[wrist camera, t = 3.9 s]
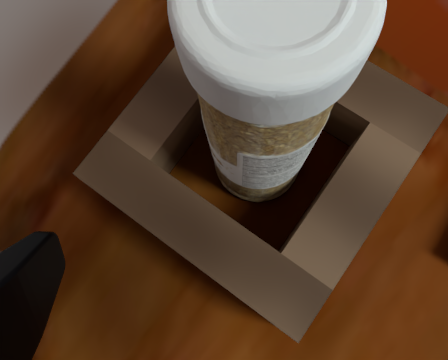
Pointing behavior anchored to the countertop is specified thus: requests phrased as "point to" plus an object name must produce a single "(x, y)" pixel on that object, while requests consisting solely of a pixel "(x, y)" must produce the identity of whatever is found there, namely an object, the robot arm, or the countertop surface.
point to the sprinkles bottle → (270, 79)
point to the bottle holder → (230, 229)
